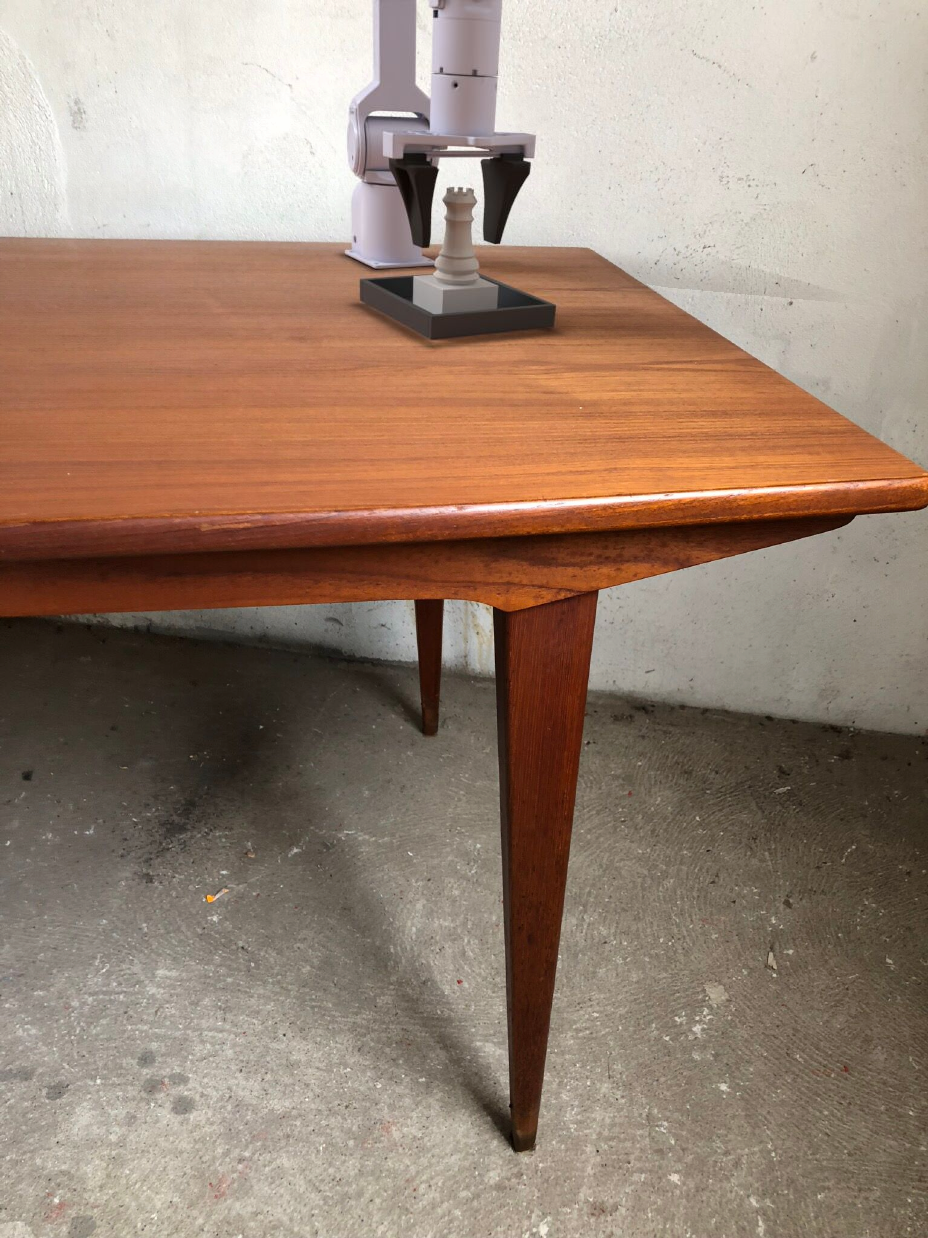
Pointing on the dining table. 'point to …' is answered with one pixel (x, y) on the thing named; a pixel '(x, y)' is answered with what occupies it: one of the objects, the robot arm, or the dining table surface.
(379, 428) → the dining table surface
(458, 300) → the grey block
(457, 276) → the rook chess piece
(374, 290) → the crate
